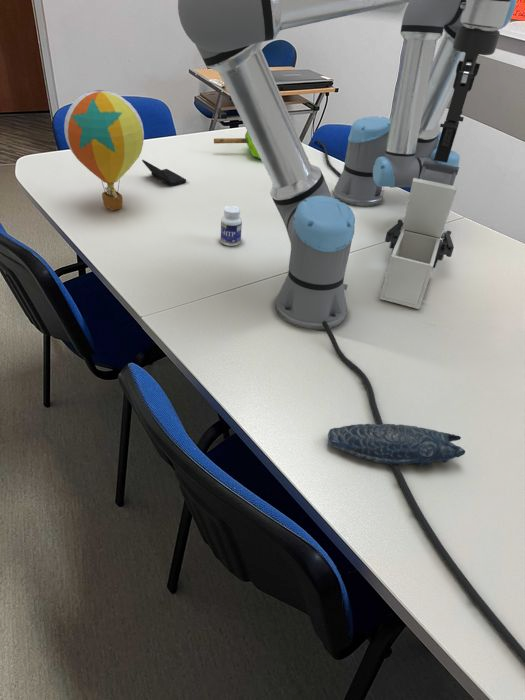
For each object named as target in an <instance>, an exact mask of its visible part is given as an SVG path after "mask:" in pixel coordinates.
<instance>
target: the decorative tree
mask: <svg viewBox="0 0 525 700" xmlns="http://www.w3.org/2000/svg"><path fill="white" fill-rule="evenodd" d="M213 144H246V145H247V147H248V149H249V151H250V153H251V155H252V156H253V157H255V158H258V160H259V159H260V160H261V158H260V156H259V154H258V152H257V150H256V148H255V146H254V144H253V142H252V140H251V138H250V135H249V133H248V131H247V130H246V132H245V134H244V137H243V138H242V137H237V138H235V137H234V138H233V137H231V138H230V137H227V138H226V137H225V138H223V137H222V138H213Z"/></svg>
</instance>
